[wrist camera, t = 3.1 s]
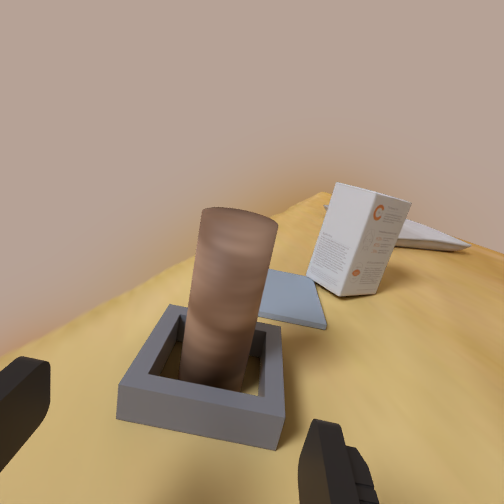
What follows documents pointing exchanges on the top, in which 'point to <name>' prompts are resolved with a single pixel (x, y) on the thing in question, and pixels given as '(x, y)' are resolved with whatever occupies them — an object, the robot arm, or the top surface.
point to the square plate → (426, 238)
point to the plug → (225, 296)
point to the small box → (356, 240)
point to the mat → (291, 300)
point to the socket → (204, 390)
